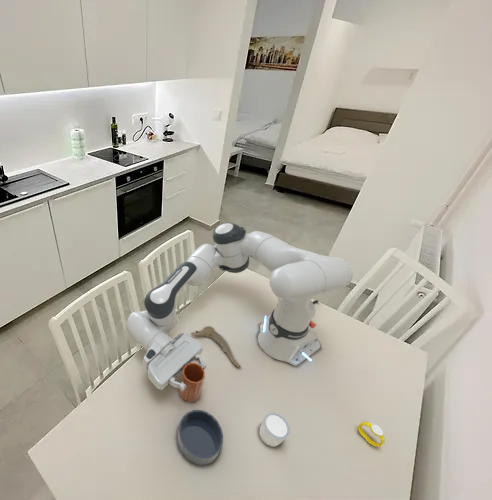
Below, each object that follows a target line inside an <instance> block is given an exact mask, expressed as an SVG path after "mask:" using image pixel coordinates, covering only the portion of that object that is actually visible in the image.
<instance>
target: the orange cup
mask: <svg viewBox="0 0 492 500" xmlns="http://www.w3.org/2000/svg"><path fill="white" fill-rule="evenodd" d="M205 375H206V372H205V370H203V368H202V367H201V366H200V365H199V363H197V362H191V363H189V364H186V365H185V367H184V368H183V371H182V372H181V379H180V383H181V382H182V381H183V382H184V384H186V386H187V387H186V389H185V390H184V391H182V390H181V389H180V388H179V395H180V397H181V398H182V399H183V400H184V401H185V402H188V403H194V402H196V401H198V399H200V396H201V393H202V389H203V385H204V381H205V378H206V376H205Z"/></svg>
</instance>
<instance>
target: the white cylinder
mask: <svg viewBox="0 0 492 500" xmlns="http://www.w3.org/2000/svg"><path fill="white" fill-rule="evenodd" d="M290 434H291V428H290V425H289V423H288V421H287V419H285V418H284V417H283V416H282V415H281V414H280V413H276V412H268V413H266V414H265V416H264V417H263V419H262V421H261V424H260V428H259V435H260V438H261V440H262V441H263V442H264V443H265V444H266V445H267V446H270V447H277V446H279V445H280V444H281V443H283V442H284V441H285V440H286V439H288V438H289V436H290Z"/></svg>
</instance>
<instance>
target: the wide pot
mask: <svg viewBox="0 0 492 500" xmlns="http://www.w3.org/2000/svg"><path fill="white" fill-rule="evenodd" d="M222 430H223V429H222V426H221V425H220V423H219V420H217V418H215V417H214V415H212V414H211V413H209V412H208V411H205V410H201V409H192V410H190V411H187V412H186V413H185V414H184V415H183V416H182V417H181V420H180V422H179V425H178V430H177V431H178V432H177V445H178V447H179V450H180V452H181V453H182V455H183V456H184V457H185V458H186V459H187V460H188V461H189V462H191V463H192V464H196V465H198V466H204V465H205V466H206V465H208V464H211V463H213V462H214V461H215V460H216V458H218V456H219V453H220V451H221V449H222V446H223V443H224V434H223V433H224V432H223V431H222Z"/></svg>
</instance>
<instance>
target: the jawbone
mask: <svg viewBox="0 0 492 500" xmlns="http://www.w3.org/2000/svg"><path fill="white" fill-rule="evenodd" d="M190 335H191V336H195V337H207V338H210V339H212V340H213V341H214V342H215V343H216V344H218V346H220V348H221V350H222V352H223V353H226V355H227V357H228V358H229V359H230V361H231V362H232V363H233V365H234V366H235V367H236V368H237V369H239V368H240V369H241V368H242V367H241V365H240V364H239V363H238V361H237V360H236V359H235V358H234V357H233V355H232V353H231V350H230V347H229V345H228V344H227V342H226V340H225V339H224V338H223V337H222V335H220V334H219V333H218V332H217V331H216V330H215V328H214V327H213V326H210V325H209V326H205V327H204V328H202V329H200V330H195V332H190Z"/></svg>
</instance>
